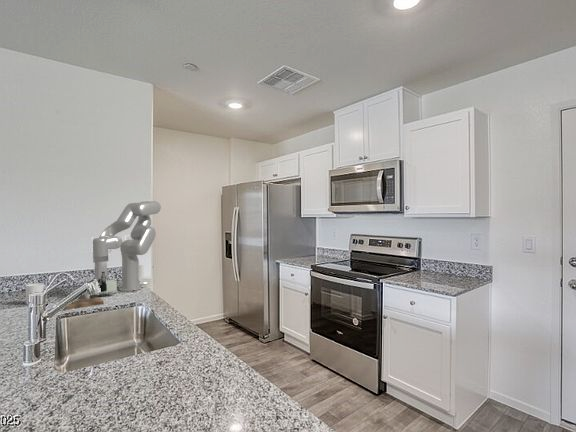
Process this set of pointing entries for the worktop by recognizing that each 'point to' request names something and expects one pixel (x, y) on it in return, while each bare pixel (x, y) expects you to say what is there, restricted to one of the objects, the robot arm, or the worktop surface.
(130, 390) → the worktop surface
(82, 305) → the stub board
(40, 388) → the worktop surface
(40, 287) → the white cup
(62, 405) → the worktop surface
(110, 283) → the housing
